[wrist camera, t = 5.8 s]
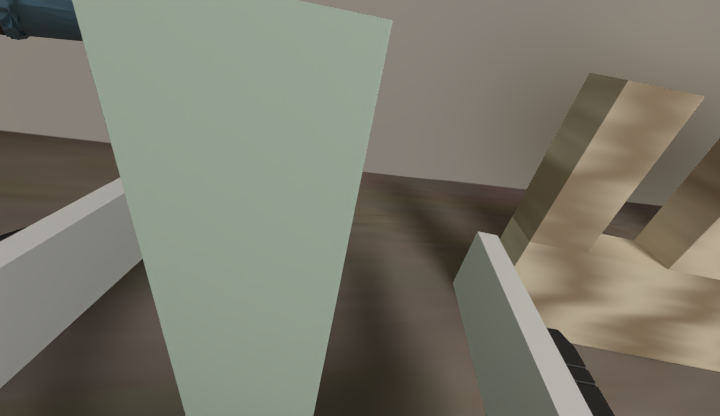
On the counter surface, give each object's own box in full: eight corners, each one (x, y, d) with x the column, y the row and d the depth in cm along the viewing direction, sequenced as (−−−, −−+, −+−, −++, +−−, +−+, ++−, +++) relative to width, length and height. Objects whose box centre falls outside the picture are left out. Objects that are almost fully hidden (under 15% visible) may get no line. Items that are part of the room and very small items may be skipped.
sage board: (289, 535, 9) (392, 21, 2) (214, 521, 9) (58, -50, 2) (356, 199, 28) (390, 31, 21) (331, 194, 28) (357, 24, 21)
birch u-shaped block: (478, 325, 18) (628, 80, 11) (469, 295, 20) (589, 72, 13) (793, 386, 18) (1144, 189, 11) (752, 350, 20) (1025, 164, 13)
